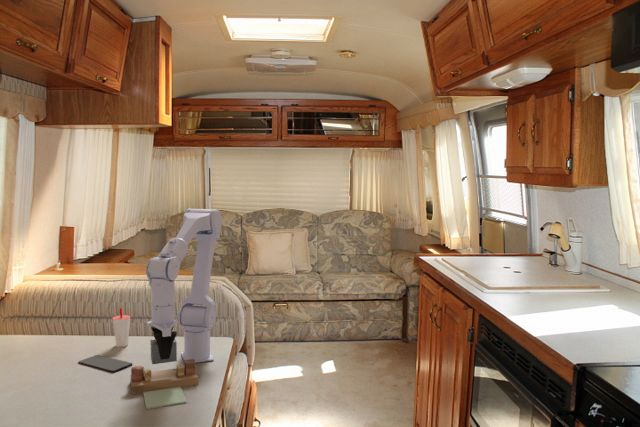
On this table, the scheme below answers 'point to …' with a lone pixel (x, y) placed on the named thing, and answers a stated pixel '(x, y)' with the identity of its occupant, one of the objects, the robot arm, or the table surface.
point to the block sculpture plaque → (163, 377)
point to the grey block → (156, 356)
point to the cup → (121, 329)
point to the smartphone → (105, 363)
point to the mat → (164, 397)
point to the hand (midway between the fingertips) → (164, 355)
